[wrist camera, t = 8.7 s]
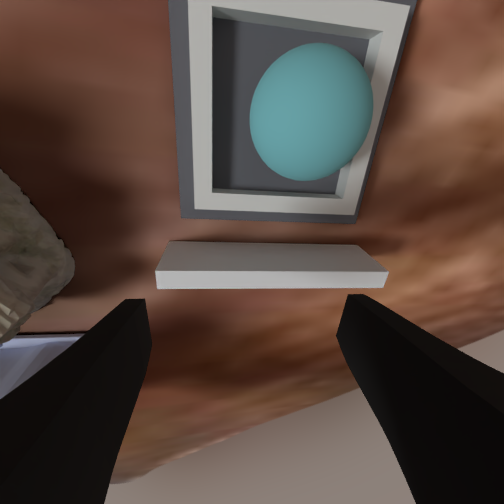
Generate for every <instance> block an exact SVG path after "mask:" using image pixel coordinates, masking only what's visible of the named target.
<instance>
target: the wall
mask: <svg viewBox="0 0 504 504" xmlns="http://www.w3.org/2000/svg"><path fill="white" fill-rule="evenodd" d="M388 273H389V271H387V270H386V269H385V268H384V267H383V266H382V265H380V264H379V263H378V262H377V261H376V260H374V259H373V258H372V257H371V256H370V255H369V254H367V253H366V252H365V251H364V250H363V249H361V248H360V247H359V246H358V245H338V244H288V243H239V242H189V241H169V242H168V244H167V247H166V249H165V251H164V253H163V255H162V257H161V259H160V262H159V264H158V266H157V268H156V270H155V274H156V282H157V289H240V288H383V287H384V284H385V281H386V279H387V276H388Z"/></svg>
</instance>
